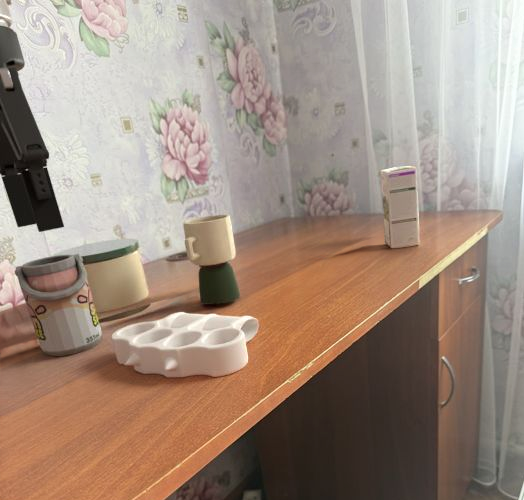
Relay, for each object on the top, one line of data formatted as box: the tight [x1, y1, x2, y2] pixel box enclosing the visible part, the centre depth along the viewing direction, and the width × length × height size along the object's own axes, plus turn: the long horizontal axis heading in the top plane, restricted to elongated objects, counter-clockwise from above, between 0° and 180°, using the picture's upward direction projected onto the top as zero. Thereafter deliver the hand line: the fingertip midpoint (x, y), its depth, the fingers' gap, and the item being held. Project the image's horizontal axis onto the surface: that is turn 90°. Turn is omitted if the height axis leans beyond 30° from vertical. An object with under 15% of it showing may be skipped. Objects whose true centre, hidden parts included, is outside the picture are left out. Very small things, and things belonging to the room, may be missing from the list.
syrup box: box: [380, 165, 420, 249], centre depth 96 cm, size 6×6×14 cm
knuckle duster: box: [110, 311, 260, 379], centre depth 59 cm, size 3×18×15 cm
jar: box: [53, 238, 151, 324], centre depth 81 cm, size 13×13×10 cm
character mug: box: [182, 214, 241, 306], centre depth 76 cm, size 11×7×13 cm, turn 148°
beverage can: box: [14, 254, 103, 357], centre depth 66 cm, size 9×8×12 cm
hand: (39, 227), depth 62 cm, fingers open, 13 cm apart
